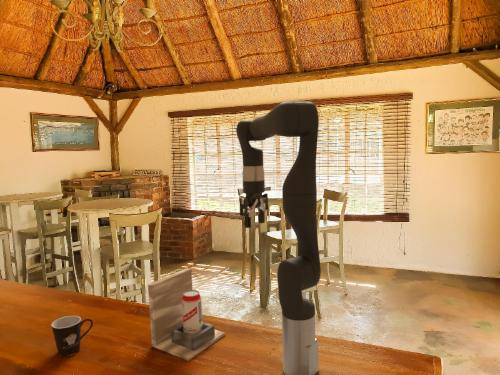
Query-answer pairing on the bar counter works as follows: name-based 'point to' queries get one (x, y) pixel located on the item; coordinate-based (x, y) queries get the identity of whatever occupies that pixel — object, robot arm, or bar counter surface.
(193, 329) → the beer can
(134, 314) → the bar counter surface
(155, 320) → the can rack
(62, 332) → the coffee mug
